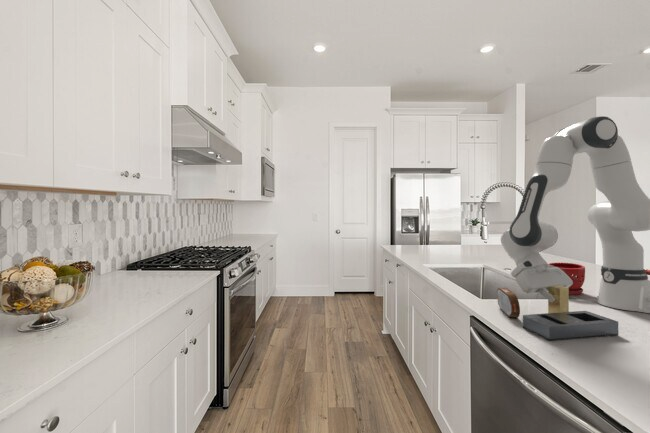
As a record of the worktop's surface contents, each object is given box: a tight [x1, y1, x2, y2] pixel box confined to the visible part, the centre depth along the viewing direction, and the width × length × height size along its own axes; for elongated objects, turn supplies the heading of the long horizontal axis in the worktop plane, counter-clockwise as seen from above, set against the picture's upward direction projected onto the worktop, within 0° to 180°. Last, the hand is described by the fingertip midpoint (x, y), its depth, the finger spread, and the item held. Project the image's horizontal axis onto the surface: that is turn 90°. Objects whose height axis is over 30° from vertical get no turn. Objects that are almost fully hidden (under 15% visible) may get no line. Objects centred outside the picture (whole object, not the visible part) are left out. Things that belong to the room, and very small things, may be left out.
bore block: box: [522, 310, 619, 342], centre depth 95 cm, size 22×10×4 cm, turn 97°
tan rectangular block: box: [547, 285, 570, 313], centre depth 108 cm, size 4×4×10 cm
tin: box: [496, 286, 521, 318], centre depth 112 cm, size 15×3×8 cm, turn 168°
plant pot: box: [548, 262, 586, 296], centre depth 137 cm, size 13×13×12 cm
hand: (560, 300), depth 107 cm, fingers closed on tan rectangular block, 4 cm apart
